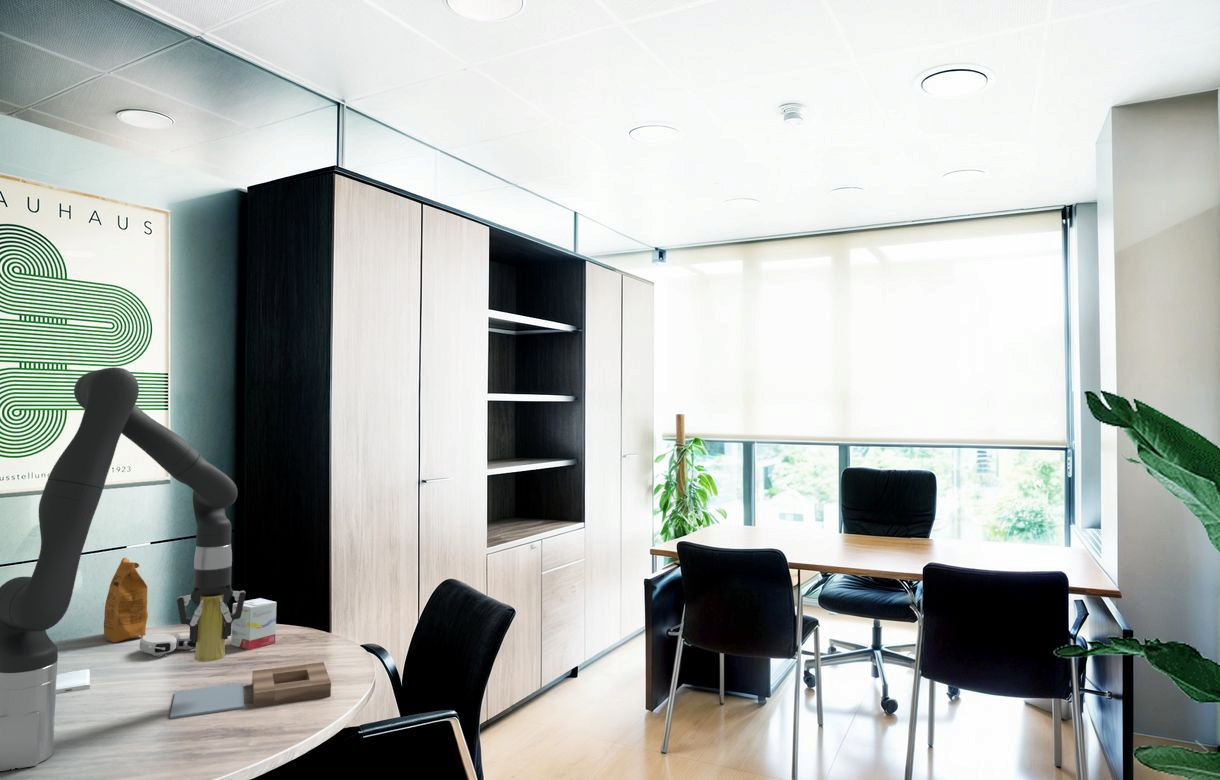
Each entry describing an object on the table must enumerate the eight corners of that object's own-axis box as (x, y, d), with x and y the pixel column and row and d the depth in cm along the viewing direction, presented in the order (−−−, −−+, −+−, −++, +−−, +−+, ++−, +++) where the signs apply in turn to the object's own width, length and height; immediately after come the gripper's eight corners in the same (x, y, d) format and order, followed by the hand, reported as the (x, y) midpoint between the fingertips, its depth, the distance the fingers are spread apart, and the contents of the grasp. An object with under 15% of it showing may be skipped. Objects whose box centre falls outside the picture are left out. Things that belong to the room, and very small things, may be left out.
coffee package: (139, 629, 222) (142, 554, 223) (149, 638, 213) (152, 560, 214) (99, 635, 215) (102, 558, 216) (108, 645, 206) (111, 565, 207)
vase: (218, 651, 172) (220, 589, 173) (229, 657, 168) (232, 593, 169) (189, 657, 168) (192, 594, 168) (201, 664, 164) (203, 598, 164)
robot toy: (195, 644, 212) (133, 650, 201) (196, 627, 212) (136, 633, 202) (207, 654, 203) (144, 661, 192) (209, 637, 203) (146, 643, 193)
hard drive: (48, 674, 179) (46, 690, 169) (90, 668, 184) (90, 683, 174) (48, 681, 179) (45, 698, 169) (89, 675, 184) (89, 690, 174)
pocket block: (330, 695, 172) (331, 682, 172) (253, 706, 164) (254, 693, 164) (323, 674, 186) (323, 662, 186) (252, 683, 179) (252, 670, 179)
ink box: (276, 643, 211) (277, 600, 211) (248, 650, 203) (249, 606, 204) (258, 637, 215) (259, 596, 216) (229, 645, 208) (231, 602, 208)
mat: (243, 708, 163) (243, 706, 163) (169, 718, 157) (170, 716, 157) (242, 684, 178) (242, 682, 178) (175, 693, 171) (175, 691, 171)
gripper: (175, 570, 162) (172, 649, 161) (248, 565, 169) (246, 640, 168) (177, 564, 169) (175, 639, 168) (247, 559, 175) (245, 631, 175)
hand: (210, 639), depth 168 cm, fingers closed on vase, 5 cm apart
